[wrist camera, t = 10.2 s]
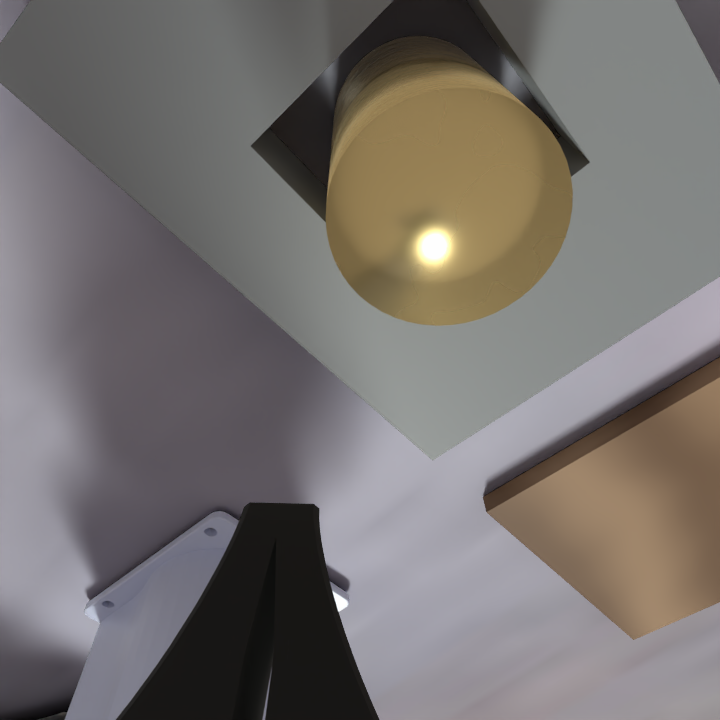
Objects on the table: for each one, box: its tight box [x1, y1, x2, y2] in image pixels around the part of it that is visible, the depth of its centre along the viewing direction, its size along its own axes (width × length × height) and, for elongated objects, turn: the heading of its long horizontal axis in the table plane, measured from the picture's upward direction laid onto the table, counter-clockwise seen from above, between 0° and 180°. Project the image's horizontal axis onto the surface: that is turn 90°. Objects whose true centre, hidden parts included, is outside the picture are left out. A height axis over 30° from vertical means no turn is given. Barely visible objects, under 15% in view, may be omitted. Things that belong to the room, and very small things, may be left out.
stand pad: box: [483, 357, 720, 640], centre depth 25 cm, size 12×12×1 cm
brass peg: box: [326, 36, 573, 326], centre depth 14 cm, size 4×4×7 cm
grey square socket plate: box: [0, 0, 720, 460], centre depth 16 cm, size 12×16×2 cm
